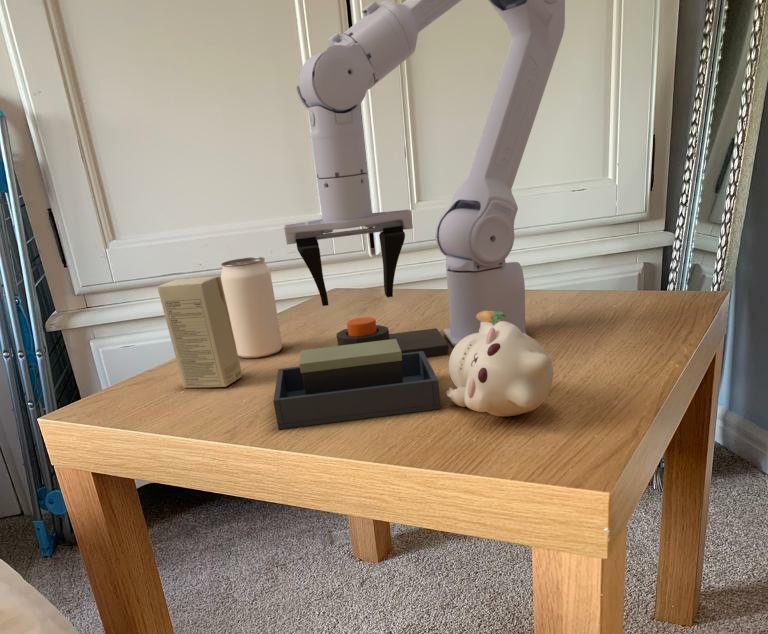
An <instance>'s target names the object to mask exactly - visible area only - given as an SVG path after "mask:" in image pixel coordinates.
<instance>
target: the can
mask: <svg viewBox="0 0 768 634" xmlns="http://www.w3.org/2000/svg"><path fill="white" fill-rule="evenodd" d="M265 260H266V258H265V257H263V256H252V257H251V256H249V257H243V258H242V257H241V258H236V259H231V260H226V261H223V262H222V263H221V266H222V269H221V273H220V277H221V281H222V286H223V290H224V295H225V299H226V304H227V308H228V313H229V317H230V322H231V326H232V331H233V335H234V340H235V344H236V349H237V353H238V358H241V359H259V358H260V359H261V358H266V357H269V356H273V355H276V354H278V353H279V352H280V351H281V349H282V348H283V342H282V341H283V340H282V335H281V328H280V321H279V317H278V310H277V309H278V308H277V304H276V303H277V302H276V297H275V292H274V286H273V281H272V280H273V279H272V275H271V269H270V268H269V267H268V265H267V263H266V262H265Z"/></svg>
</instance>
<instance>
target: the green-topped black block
mask: <svg viewBox="0 0 768 634" xmlns="http://www.w3.org/2000/svg"><path fill="white" fill-rule="evenodd" d="M401 361H402V353H401V350H400V347H399V345H398V342H397V340H396V339H390V340H382V341H374V342H366V343H358V344H350V345H341V346H338V345H335V346H327V347H326V346H325V347H318V348H311V349H302V350H300V352H299V366H300V370H301V373H302V376H303V382H304V388H305V395H309V394H317V393H325V392H333V391H341V390H349V389H357V388H365V387H373V386H381V385H389V384H397V383H403V375H402V365H401Z"/></svg>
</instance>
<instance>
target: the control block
mask: <svg viewBox="0 0 768 634" xmlns="http://www.w3.org/2000/svg"><path fill="white" fill-rule="evenodd" d="M376 329H377V332H376V333H374V334H370V335H364V336H349V335H348V328H344V329H341V330H339V331H338V332H336V341H337V346H341V345H350V344H358V343H366V342H374V341H382V340H390V339H396V340H397V342H398V345H399V347H400V350H401V353H402V354H403V353H411V352H419V351H423V352H424V354H425V356H426V357H427V358H430V357H438V356H446V355H449V345H448V343H447V342H446V340H445V338H444V337H443V336H442V334H441V332H440V331H439V329H438V328H437V327H435V328H428V329H426V328H425V329H418V330H410V331H403V332H402V331H401V332H395V333H394V332H393V333H390V331H389V328H388V326H384V325H379V324H376Z"/></svg>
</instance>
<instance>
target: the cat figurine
mask: <svg viewBox="0 0 768 634" xmlns="http://www.w3.org/2000/svg"><path fill="white" fill-rule="evenodd" d="M499 315H501V316H504V317H506V315H505V314H504V313H503V312H496V311H495V312H494V311H481V312H479V313H478V314H477V315H476V318H477V319H478V320H479V321H481V323H480V329H479V333H474V334H471V335H468V336H466V337H465V338H463V339H462V340H461V341H459V342H458V344H457V345H456V346H453V349H452V351H451V353H450V356H449V360H448V373H449V376H450V379H451V381H452V383H453V384H454V385H455V387H456V388H452V387H449V388H448V389H447V390H446V392H445V393H446V395H447V397H448V398H449V399H450V401H451V402H453V404H454V405H456V406H458V407H462V408H466V407H467V408H468V409H469V410H472V411H474V412H478V413H488V414H489V415H491V416H496V417H512V416H513V417H514V416H519V415H523V414H526V413H529V412H532V411H534V410H536V409H538V408H539V407H540V406H541V405H542V404H544V402H545V401H546V400H547V398H548V395H549V394H550V391H551V388H552V384H553V378H554V365H553V361H552V359H551V357H550V354H549V353H548V352H547V350H546V349H545V348H544V347H543V346H542V345H541V343H540V342H538V341H537V340H536V339H534V338H533V337H531V336H530V335H528V334H527V335H526V334H523V333H522V332H521V331H520V330H519V328H518V327H517V326H515V325H513V324H511V323H509V322H506V321H500V320H498V318H499Z"/></svg>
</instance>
